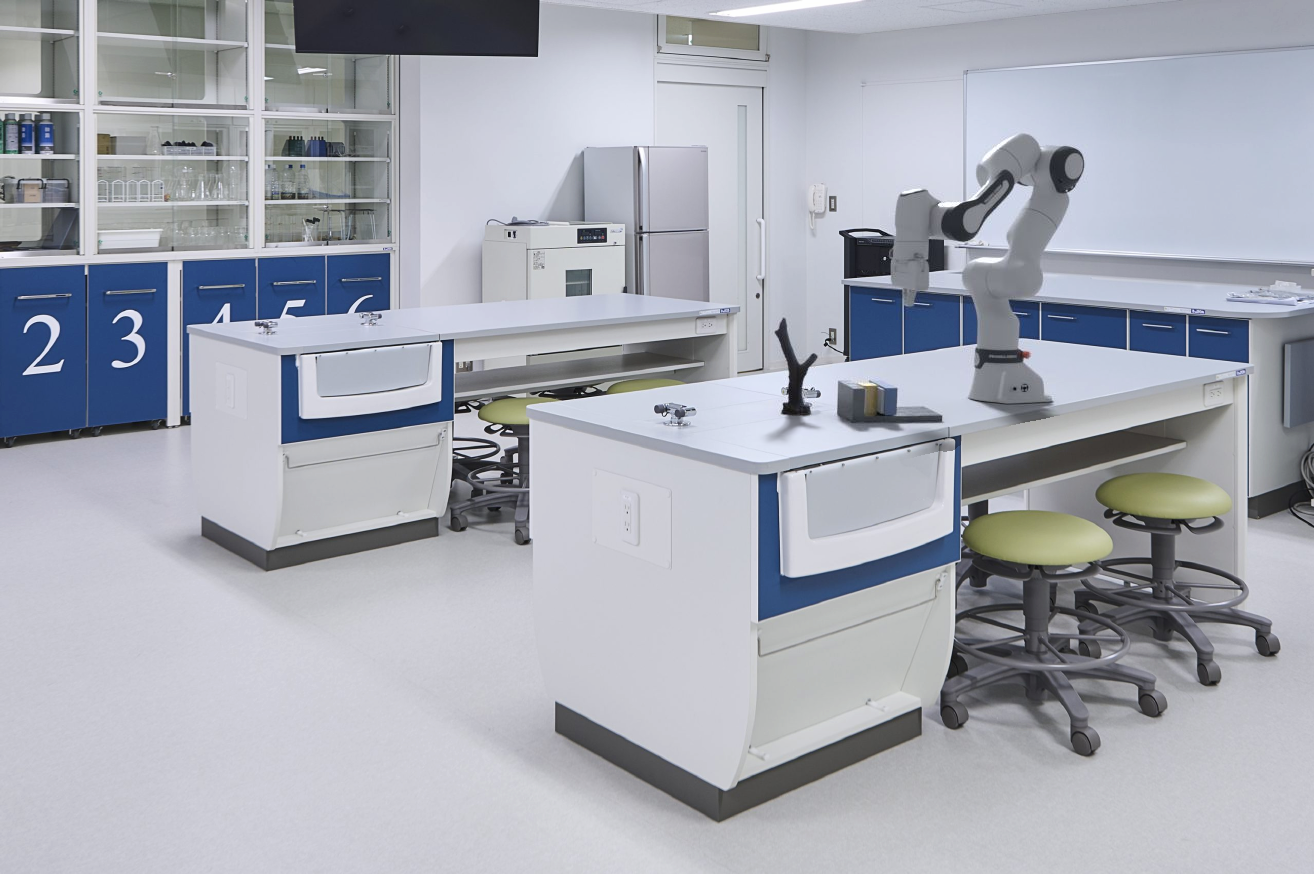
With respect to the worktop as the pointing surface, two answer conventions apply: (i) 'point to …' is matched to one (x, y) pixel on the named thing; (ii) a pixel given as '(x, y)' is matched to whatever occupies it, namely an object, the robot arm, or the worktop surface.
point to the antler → (794, 374)
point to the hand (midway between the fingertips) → (908, 306)
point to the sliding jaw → (886, 398)
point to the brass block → (870, 396)
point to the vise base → (854, 409)
